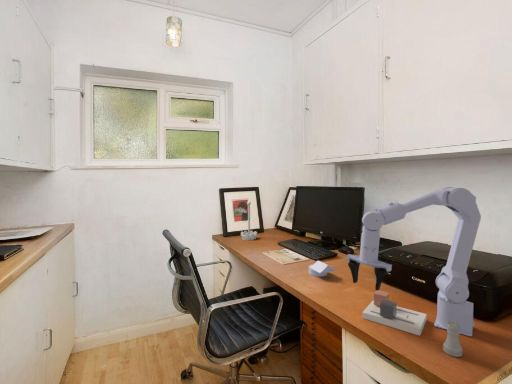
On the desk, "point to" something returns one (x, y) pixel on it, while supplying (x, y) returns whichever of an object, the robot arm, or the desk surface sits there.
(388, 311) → the charcoal fader
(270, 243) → the desk surface
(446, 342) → the rook chess piece
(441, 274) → the robot arm
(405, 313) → the fader console
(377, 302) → the brick fader
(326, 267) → the wedge on round base
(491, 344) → the desk surface
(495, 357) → the desk surface
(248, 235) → the flag stand
